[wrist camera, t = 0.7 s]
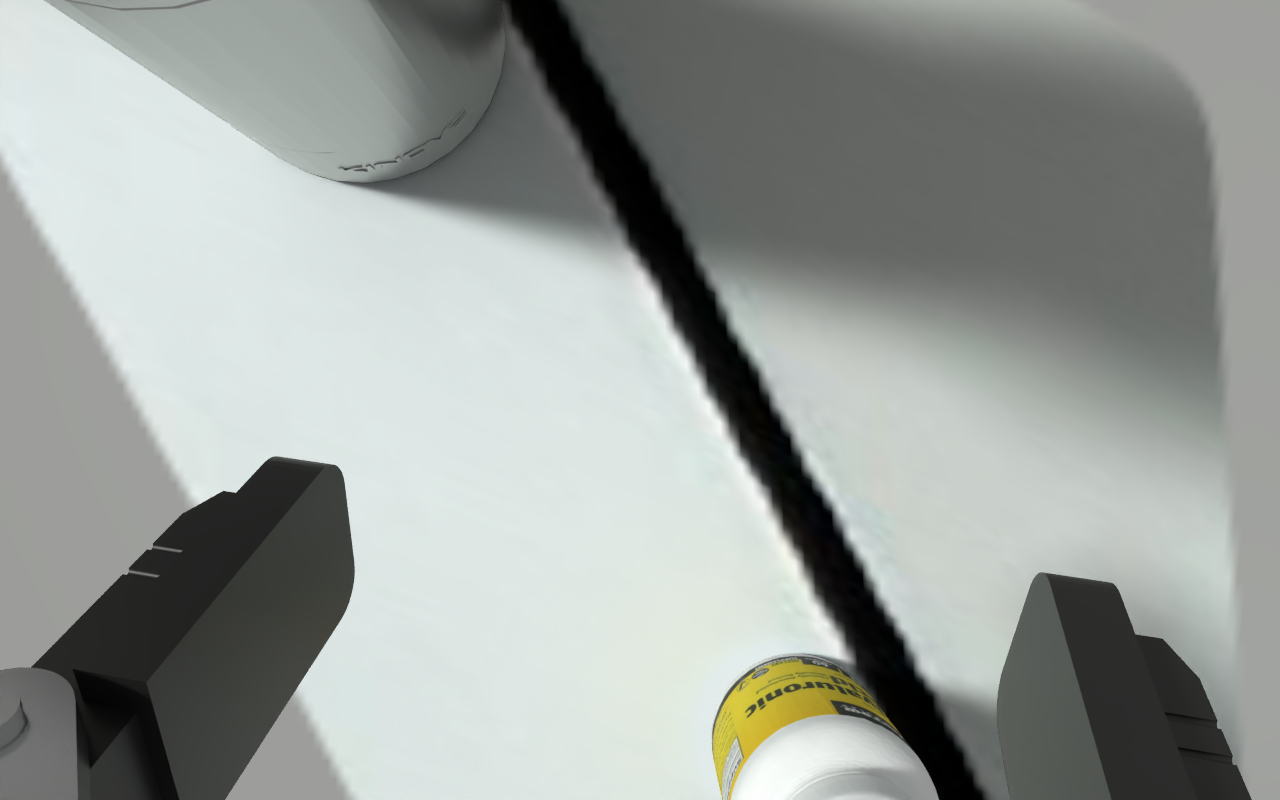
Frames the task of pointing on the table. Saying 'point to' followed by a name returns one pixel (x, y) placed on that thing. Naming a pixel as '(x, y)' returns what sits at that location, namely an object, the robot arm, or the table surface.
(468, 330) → the table surface
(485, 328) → the table surface
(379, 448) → the table surface
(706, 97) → the table surface
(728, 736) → the supplement bottle
